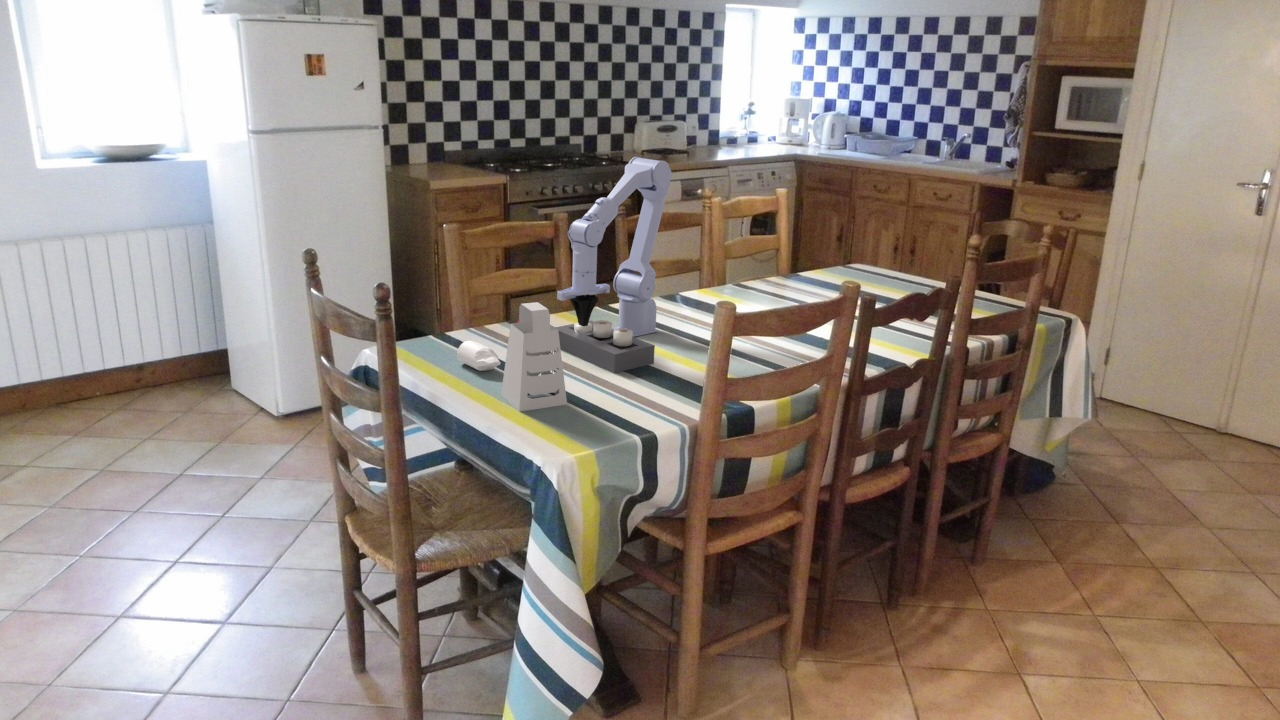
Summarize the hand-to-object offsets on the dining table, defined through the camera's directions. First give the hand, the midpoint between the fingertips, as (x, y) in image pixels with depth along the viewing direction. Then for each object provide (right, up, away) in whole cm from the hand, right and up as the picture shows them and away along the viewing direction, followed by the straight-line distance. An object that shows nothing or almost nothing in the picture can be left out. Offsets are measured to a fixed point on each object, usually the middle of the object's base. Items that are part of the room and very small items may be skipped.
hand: (583, 325), depth 228 cm
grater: (-8, -17, -33) cm, 38 cm away
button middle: (+5, -3, -5) cm, 8 cm away
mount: (+5, -7, -4) cm, 9 cm away
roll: (-22, -11, -17) cm, 30 cm away
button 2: (+10, -5, -10) cm, 15 cm away
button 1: (0, -3, +1) cm, 3 cm away
